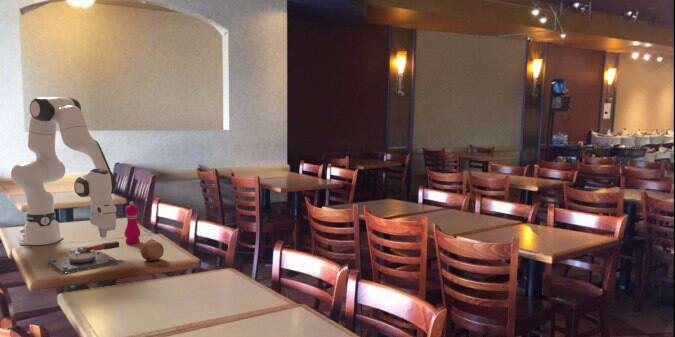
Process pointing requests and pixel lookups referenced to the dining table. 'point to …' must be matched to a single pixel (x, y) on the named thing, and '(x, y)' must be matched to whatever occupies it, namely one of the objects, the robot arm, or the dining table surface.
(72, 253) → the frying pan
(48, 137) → the robot arm
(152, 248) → the onion
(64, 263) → the flange plate
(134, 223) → the pepper mill
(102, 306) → the dining table surface
